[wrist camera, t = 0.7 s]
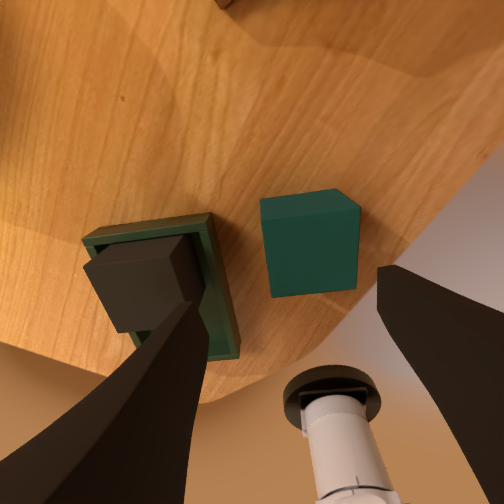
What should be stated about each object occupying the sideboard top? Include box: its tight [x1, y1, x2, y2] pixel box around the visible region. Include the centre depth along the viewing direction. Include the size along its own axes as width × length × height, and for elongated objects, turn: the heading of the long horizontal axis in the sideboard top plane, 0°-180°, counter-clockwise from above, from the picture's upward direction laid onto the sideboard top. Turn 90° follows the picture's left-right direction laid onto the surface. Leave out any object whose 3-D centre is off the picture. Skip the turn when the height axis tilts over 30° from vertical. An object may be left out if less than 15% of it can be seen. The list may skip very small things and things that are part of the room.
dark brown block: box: [83, 233, 206, 333], centre depth 16 cm, size 5×5×4 cm
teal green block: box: [260, 189, 361, 298], centre depth 15 cm, size 5×5×4 cm
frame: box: [81, 212, 241, 362], centre depth 19 cm, size 12×8×2 cm
